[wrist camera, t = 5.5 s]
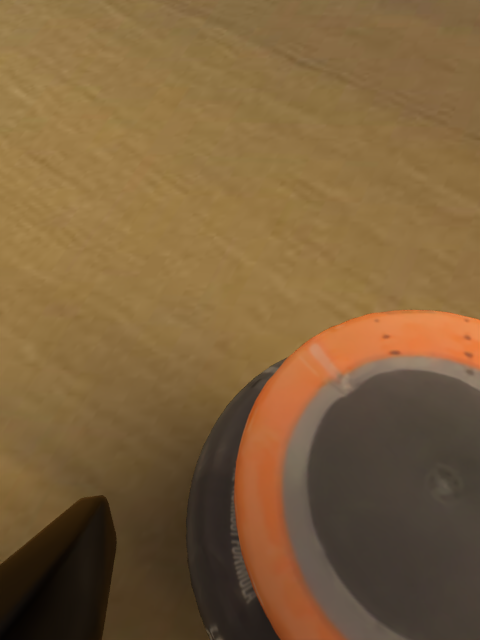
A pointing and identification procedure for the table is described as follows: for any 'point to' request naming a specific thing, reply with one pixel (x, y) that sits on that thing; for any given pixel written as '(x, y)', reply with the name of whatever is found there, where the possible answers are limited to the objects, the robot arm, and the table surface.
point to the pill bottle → (346, 489)
